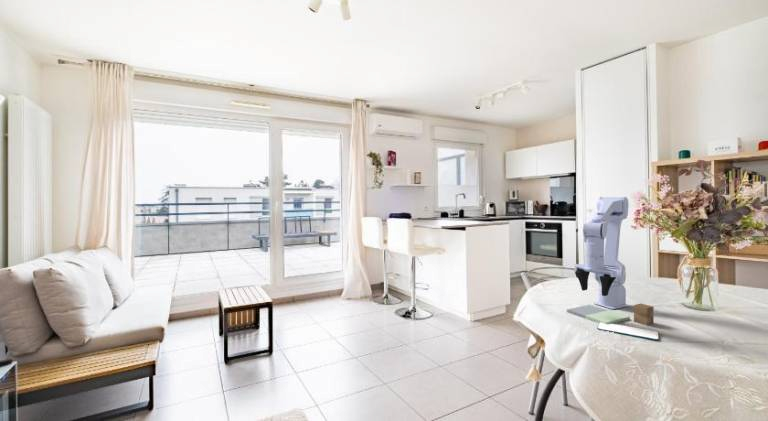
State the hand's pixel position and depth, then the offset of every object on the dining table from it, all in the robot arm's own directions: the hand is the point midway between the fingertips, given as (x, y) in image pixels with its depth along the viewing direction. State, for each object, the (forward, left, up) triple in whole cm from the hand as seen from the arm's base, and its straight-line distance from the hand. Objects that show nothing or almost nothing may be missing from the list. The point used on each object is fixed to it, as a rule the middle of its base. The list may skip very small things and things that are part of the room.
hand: (594, 292), depth 122 cm
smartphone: (+2, +12, -10) cm, 16 cm away
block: (-11, +10, -9) cm, 18 cm away
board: (-4, -1, -9) cm, 10 cm away
